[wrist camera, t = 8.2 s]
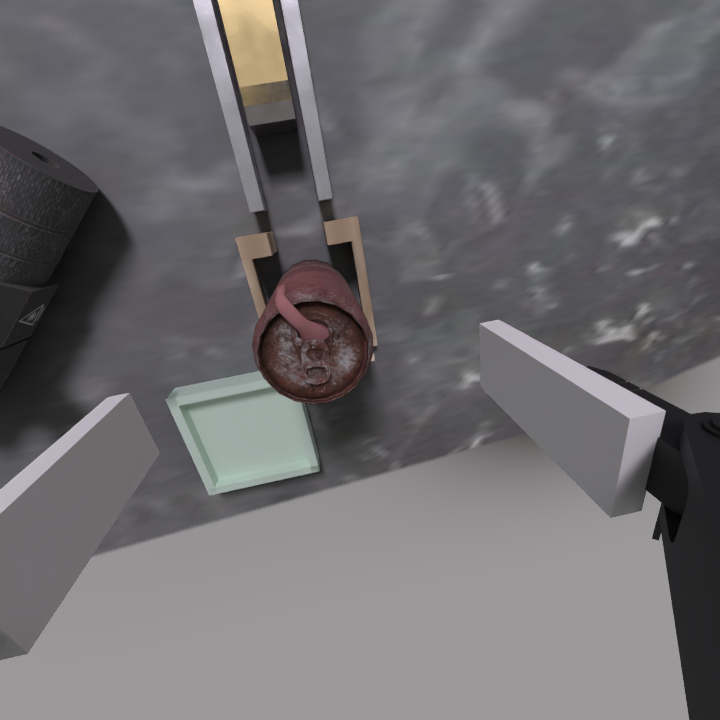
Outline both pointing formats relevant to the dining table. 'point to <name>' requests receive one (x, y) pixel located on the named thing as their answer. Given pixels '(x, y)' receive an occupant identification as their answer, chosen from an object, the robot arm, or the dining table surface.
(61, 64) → the dining table surface
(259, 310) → the socket
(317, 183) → the keeper guide
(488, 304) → the dining table surface
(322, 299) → the can
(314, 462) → the pale green shallow tray
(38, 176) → the laser sight
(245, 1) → the keeper bolt
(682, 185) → the dining table surface
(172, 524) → the dining table surface
